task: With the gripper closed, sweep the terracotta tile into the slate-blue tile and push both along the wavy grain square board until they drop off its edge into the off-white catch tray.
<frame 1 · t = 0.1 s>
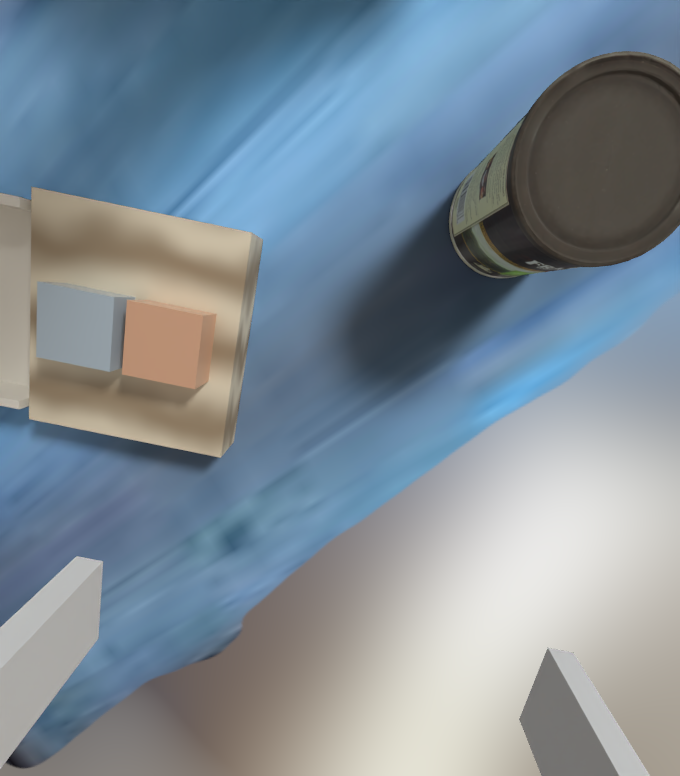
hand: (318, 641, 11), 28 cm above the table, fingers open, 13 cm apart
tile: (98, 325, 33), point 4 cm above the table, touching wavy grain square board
wavy grain square board: (156, 328, 37), on the table
coffee can: (506, 218, 34), on the table
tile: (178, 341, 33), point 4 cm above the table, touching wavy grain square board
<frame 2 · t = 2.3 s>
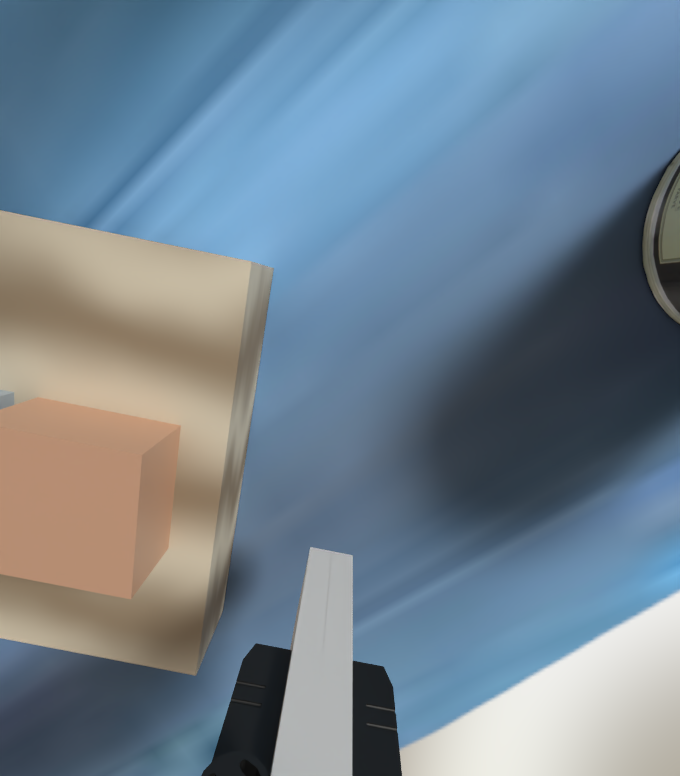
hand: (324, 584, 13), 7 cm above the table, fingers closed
wavy grain square board: (79, 426, 21), on the table
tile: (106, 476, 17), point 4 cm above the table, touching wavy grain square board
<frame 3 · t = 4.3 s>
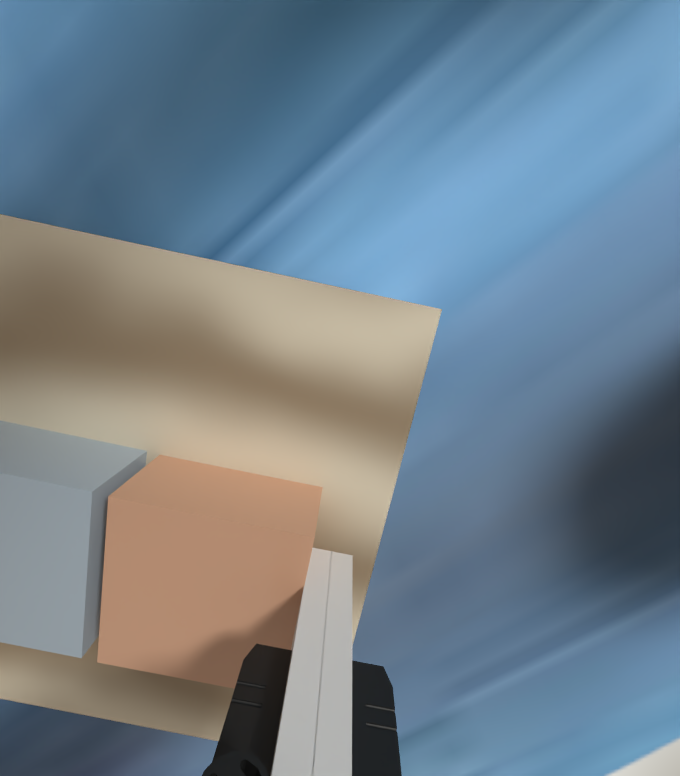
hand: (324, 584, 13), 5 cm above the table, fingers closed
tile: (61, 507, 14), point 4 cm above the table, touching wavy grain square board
wavy grain square board: (184, 475, 18), on the table
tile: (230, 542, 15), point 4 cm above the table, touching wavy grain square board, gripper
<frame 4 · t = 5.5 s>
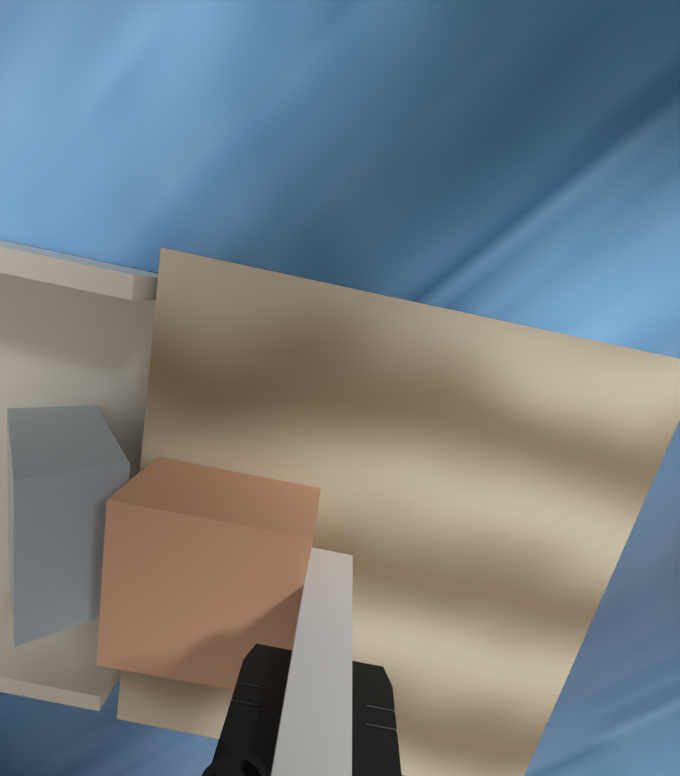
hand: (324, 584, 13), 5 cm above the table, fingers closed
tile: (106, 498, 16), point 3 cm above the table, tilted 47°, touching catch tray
wavy grain square board: (364, 511, 19), on the table
catch tray: (5, 437, 18), on the table
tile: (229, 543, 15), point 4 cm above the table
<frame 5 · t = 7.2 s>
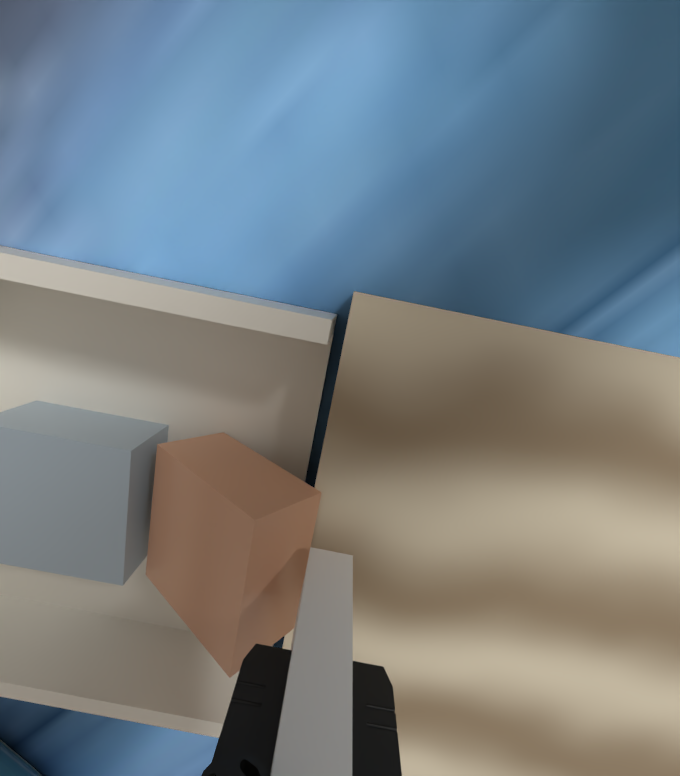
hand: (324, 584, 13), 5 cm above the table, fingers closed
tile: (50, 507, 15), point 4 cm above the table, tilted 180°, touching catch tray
wavy grain square board: (493, 538, 19), on the table
catch tray: (137, 468, 18), on the table
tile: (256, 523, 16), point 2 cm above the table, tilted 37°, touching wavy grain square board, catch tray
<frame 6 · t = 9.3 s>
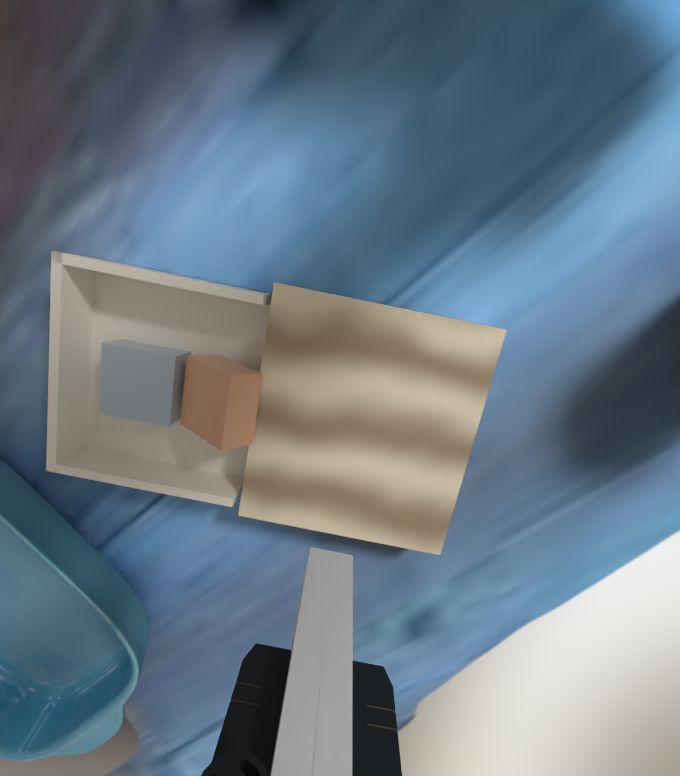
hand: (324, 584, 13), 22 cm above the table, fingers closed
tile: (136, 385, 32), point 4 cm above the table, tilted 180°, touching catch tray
wavy grain square board: (362, 414, 35), on the table
casserole dish: (17, 561, 41), on the table
catch tray: (173, 376, 35), on the table
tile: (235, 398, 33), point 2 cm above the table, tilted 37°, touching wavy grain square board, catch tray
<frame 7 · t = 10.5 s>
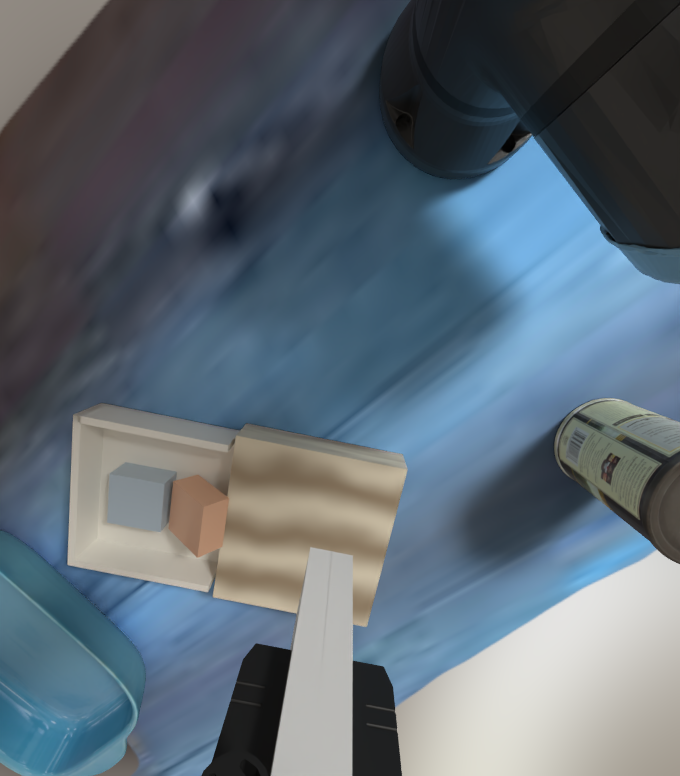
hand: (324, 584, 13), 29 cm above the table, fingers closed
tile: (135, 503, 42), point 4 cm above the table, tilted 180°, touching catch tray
wavy grain square board: (309, 516, 46), on the table
casserole dish: (41, 621, 51), on the table
coffee can: (599, 441, 43), on the table
catch tray: (164, 487, 46), on the table
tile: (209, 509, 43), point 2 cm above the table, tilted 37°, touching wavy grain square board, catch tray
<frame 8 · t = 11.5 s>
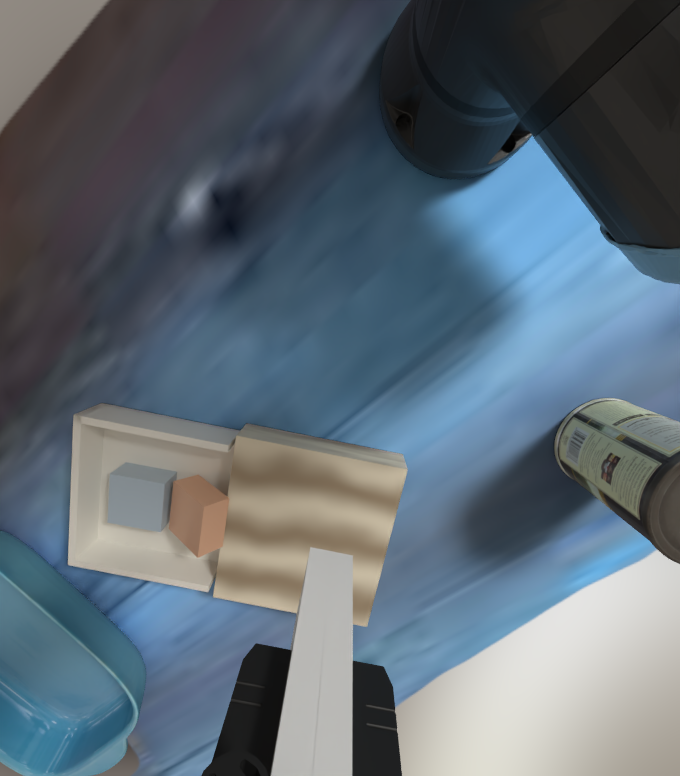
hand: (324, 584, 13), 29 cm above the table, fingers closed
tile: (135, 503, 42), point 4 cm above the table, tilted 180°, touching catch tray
wavy grain square board: (309, 516, 46), on the table
casserole dish: (42, 621, 51), on the table
coffee can: (600, 440, 43), on the table
catch tray: (164, 487, 46), on the table
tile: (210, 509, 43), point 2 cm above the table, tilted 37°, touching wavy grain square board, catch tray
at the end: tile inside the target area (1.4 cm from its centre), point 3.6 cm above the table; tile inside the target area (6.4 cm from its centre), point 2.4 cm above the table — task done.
